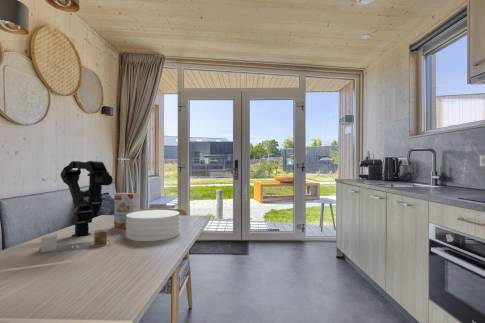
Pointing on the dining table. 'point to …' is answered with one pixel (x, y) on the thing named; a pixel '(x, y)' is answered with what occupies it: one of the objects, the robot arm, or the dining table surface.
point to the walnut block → (100, 237)
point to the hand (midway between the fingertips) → (95, 214)
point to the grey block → (49, 243)
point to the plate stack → (152, 225)
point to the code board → (74, 247)
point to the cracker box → (124, 207)
